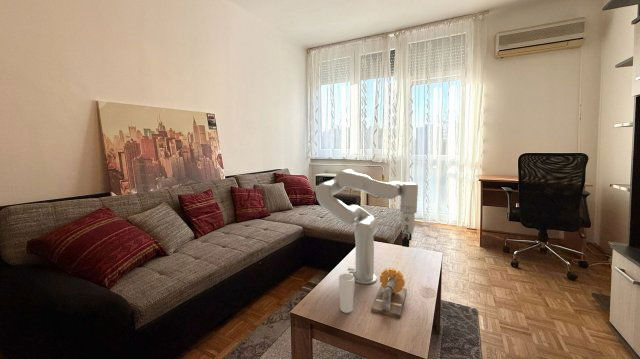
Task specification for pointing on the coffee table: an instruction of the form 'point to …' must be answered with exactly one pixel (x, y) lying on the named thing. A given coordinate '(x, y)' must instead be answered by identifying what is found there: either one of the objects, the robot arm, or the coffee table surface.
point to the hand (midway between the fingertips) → (406, 243)
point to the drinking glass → (346, 292)
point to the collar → (396, 275)
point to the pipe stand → (389, 300)
